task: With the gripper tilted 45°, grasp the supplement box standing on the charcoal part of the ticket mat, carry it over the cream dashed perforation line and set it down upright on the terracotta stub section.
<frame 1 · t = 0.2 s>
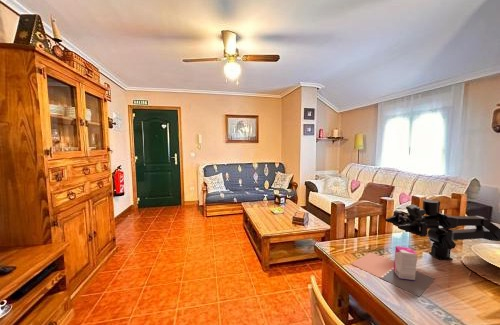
hand: (391, 223, 105), 17 cm above the table, tool horizontal, fingers open, 9 cm apart
ticket mat: (390, 270, 95), on the table
supplement box: (403, 276, 91), resting on ticket mat
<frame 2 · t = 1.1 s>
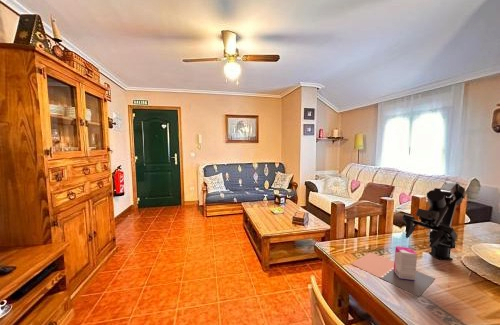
hand: (417, 242, 93), 14 cm above the table, tool tilted 45°, fingers open, 9 cm apart
nothing on the table moved.
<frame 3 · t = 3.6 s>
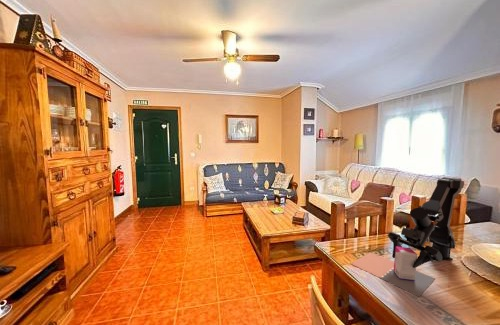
hand: (402, 262, 89), 7 cm above the table, tool tilted 45°, fingers closed on supplement box, 8 cm apart
supplement box: (403, 276, 91), resting on ticket mat, touching gripper
when the fingers open (8 cm above the table, at t = 8.0 s): supplement box drops 1 cm, resting on ticket mat.
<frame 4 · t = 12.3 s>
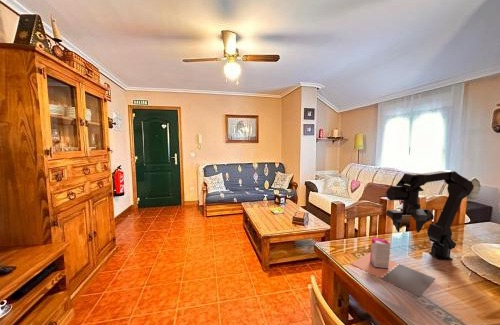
hand: (407, 232, 104), 13 cm above the table, tool pointing down, fingers open, 9 cm apart
supplement box: (378, 265, 99), resting on ticket mat
at the end: supplement box 0.3 cm from the target spot, resting on ticket mat; supplement box tilted 0°; the gripper is holding nothing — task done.
